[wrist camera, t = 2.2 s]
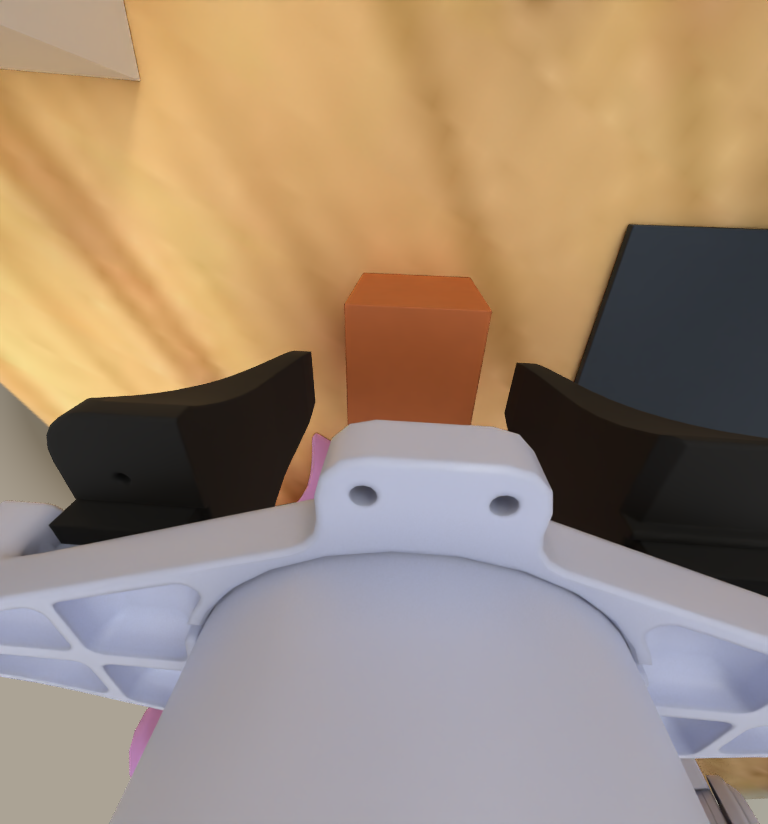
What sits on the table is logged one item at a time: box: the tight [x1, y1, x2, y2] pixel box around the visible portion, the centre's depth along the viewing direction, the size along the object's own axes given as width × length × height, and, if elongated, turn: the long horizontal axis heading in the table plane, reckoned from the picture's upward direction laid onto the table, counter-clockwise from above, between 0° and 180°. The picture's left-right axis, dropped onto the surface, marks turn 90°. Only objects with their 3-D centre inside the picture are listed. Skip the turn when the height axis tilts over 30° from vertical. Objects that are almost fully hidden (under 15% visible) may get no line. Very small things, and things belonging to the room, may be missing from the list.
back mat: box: [574, 224, 768, 438], centre depth 18 cm, size 18×12×1 cm, turn 178°
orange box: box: [344, 273, 492, 425], centre depth 15 cm, size 6×5×5 cm
